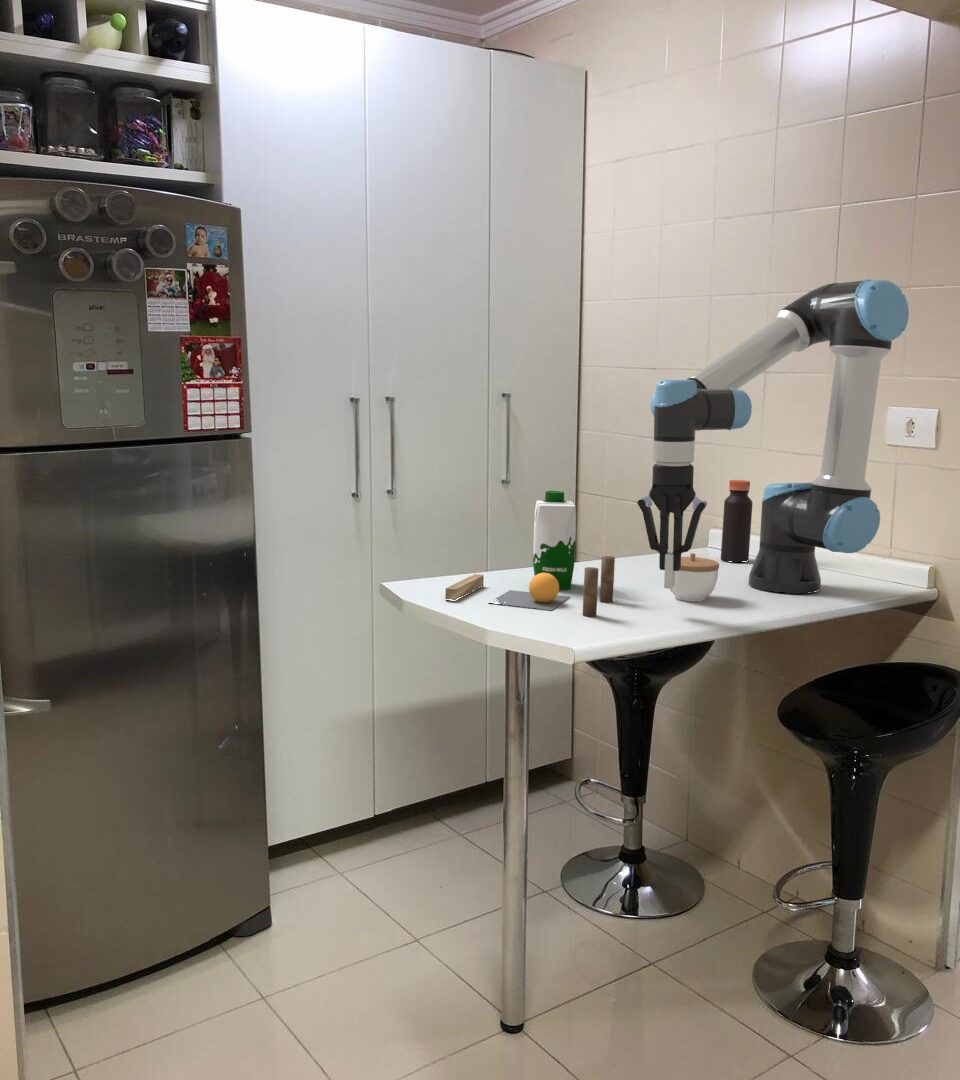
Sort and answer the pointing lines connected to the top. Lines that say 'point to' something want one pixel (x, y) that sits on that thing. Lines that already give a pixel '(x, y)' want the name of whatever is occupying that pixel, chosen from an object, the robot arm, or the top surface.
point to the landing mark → (528, 600)
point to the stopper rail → (464, 587)
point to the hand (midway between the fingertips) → (669, 586)
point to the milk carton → (555, 538)
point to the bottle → (737, 522)
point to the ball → (544, 587)
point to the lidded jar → (695, 578)
